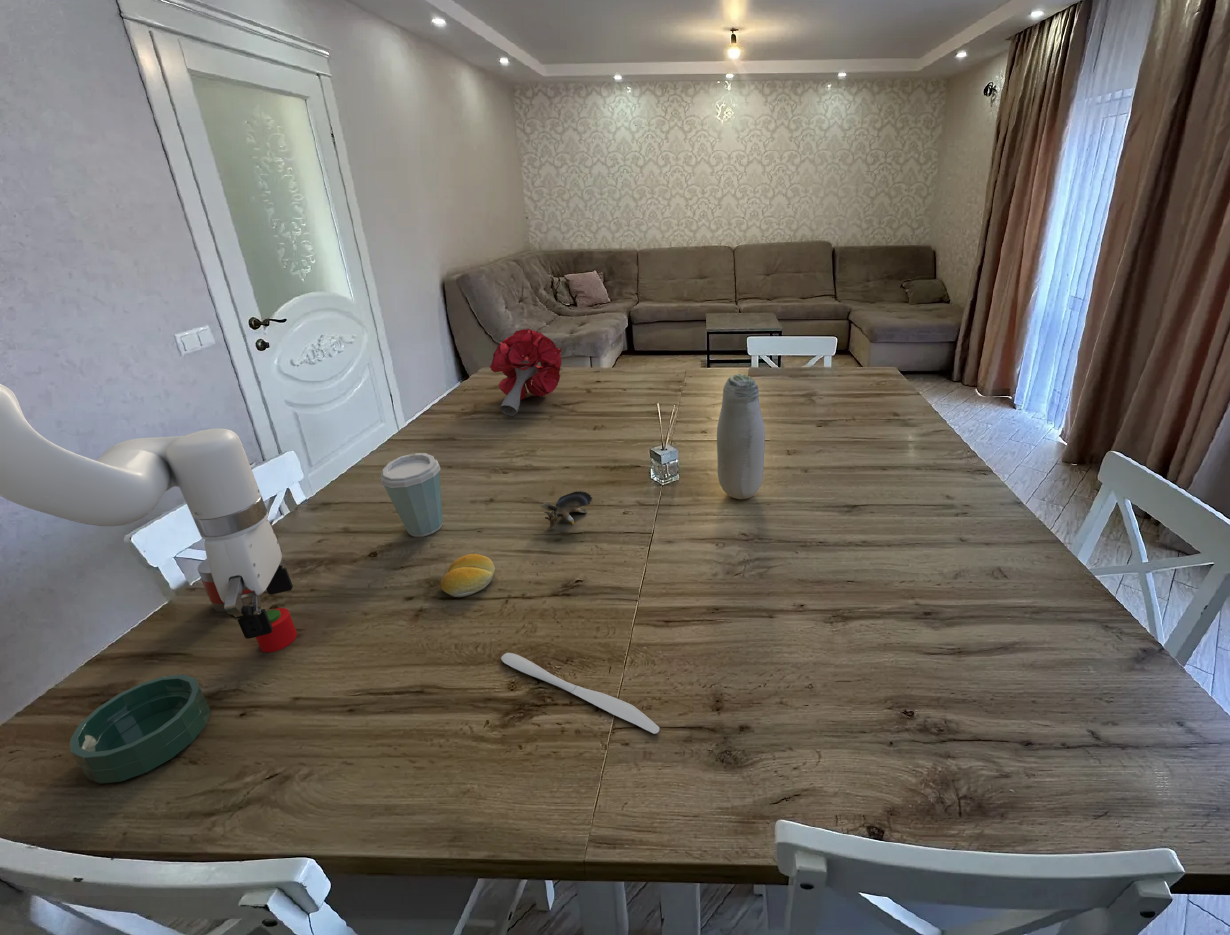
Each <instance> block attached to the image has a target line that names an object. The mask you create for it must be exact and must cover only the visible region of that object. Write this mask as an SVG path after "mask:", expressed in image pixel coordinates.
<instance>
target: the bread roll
mask: <svg viewBox="0 0 1230 935" xmlns="http://www.w3.org/2000/svg"><path fill="white" fill-rule="evenodd" d="M495 571H496V568H495V565H494V562H493V561H492V559H490V558H489V557H487V556H485V555H483V554H480V553H470V554H469V553H468V554H465V555H462V556H461V557H458V558H457V559H456V560H454V561H453V562H452V563H451V564H450V565H449V567H448V569H447V572H446V573H445V575H444V576H443V577H442V579H441V581H440V589H441V591H443V593H446V594H447V595H449V596H451V597H453V598H464V597H468V596H472V595H474V594H476V593H479V592H481V591H482V590H484V589H485V588H486V587H487V586H488V585H489V584H490V583H491V581H492V579H493V577H494V574H495Z"/></svg>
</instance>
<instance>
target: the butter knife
mask: <svg viewBox="0 0 1230 935" xmlns="http://www.w3.org/2000/svg"><path fill="white" fill-rule="evenodd" d="M500 659H501V661H502V663H504V664H505V665H507V666H509V667H511V668H512V669H515V670H517V671H519V672H521V673H524V674H526V675H529V676H531V677H533V678H536V679H538V680H541V681H544V682H546V683H548V684H551V685H552V686H556V687H558V688H560V689H562V690H564V691H567V692H569V693H571V694H572V695H575V696H576V697H579V698H581V699H582V700H584V701H587V702H588V703H590V704H592V705H594V706H595V707H598V708H599V709H602V710H603V711H606V712H608V713H609V714H610V715H613V716H616V717H618V718H620V719H622V720H624V721H627V722H629V723H631V724H633V725H636V726H638V727H639V728H641V729H643V730H645V731H647V732H649V733H652V735H653V734H654V735H656V734H658V733H659V732H660V726H659V725H657V724H656V723H655V722H654V721H653V720H652V719H651V718H649V717H648V716H647V715H646V714H645V713H643V712H642V711H641V710H639V708H637V707H636V706H634V705H633V704H631V703H629V702H626V701H624V700H621V699H619V698H617V697H614V696H611V695H610V694H607V693H604V692H600V691H596V690H592V689H589V688H585V687H582V686H581V685H576V684H575V683H571V682H568V681H566V680H564V679H562V678H560V677H559V676H556V675H554V674H552V673H550V672H548V670H545V669H544V668H542V667H541V666H539V665H538V664H536V663H534V662H533V661H532V660H531V661H530V660H529V659H527V658H525V657H523V656H521V655H518V654H516V653H513V652H506V653H504V654H503V655H502V656H501V657H500Z"/></svg>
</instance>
